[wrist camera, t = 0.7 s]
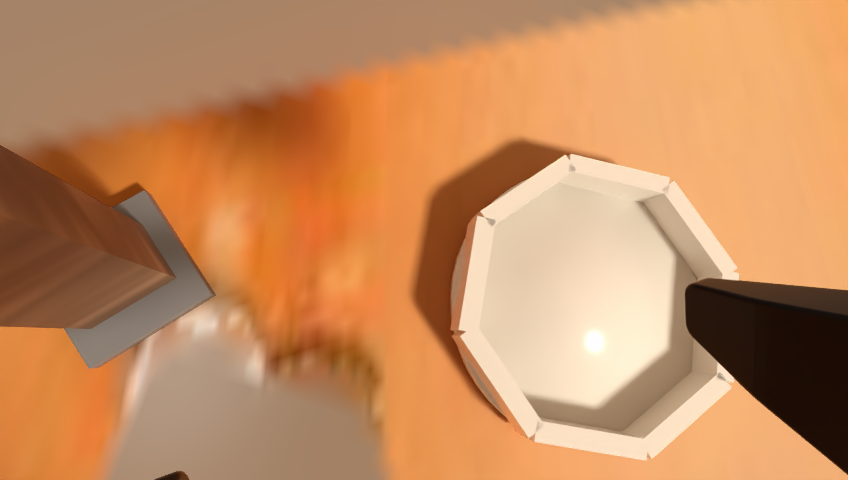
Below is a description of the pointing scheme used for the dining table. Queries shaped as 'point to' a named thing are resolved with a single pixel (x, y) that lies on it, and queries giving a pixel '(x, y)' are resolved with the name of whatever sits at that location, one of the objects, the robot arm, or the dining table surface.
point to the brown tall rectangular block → (89, 263)
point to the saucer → (588, 308)
